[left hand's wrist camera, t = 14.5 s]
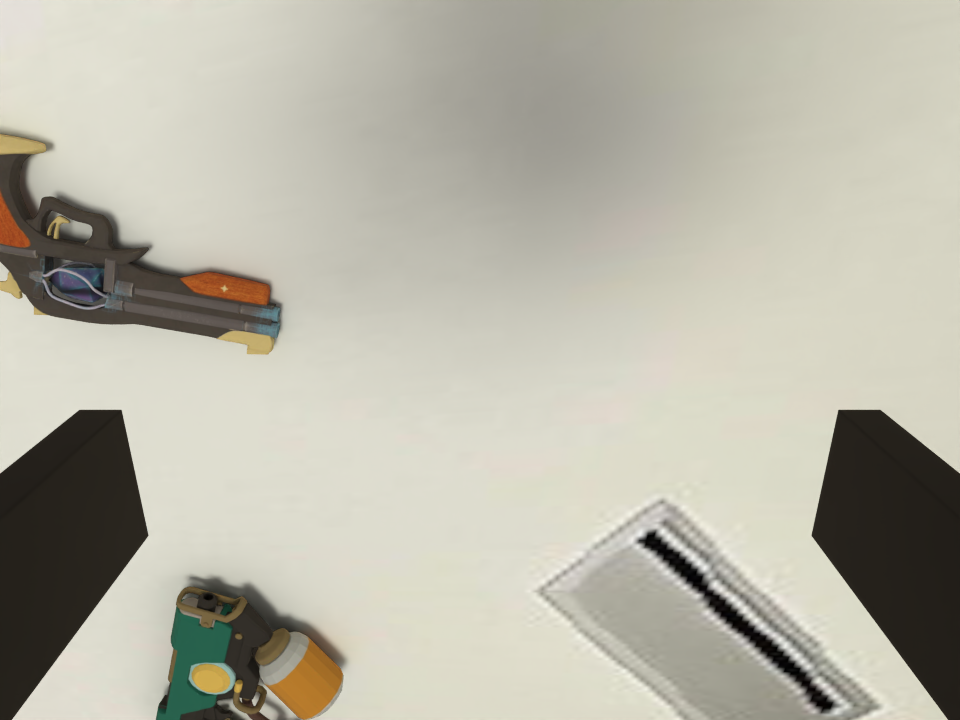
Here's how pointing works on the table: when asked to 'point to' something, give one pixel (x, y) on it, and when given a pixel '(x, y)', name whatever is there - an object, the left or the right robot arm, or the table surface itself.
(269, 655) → the spray gun
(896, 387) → the table surface
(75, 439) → the left robot arm
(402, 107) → the table surface
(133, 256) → the toy gun
